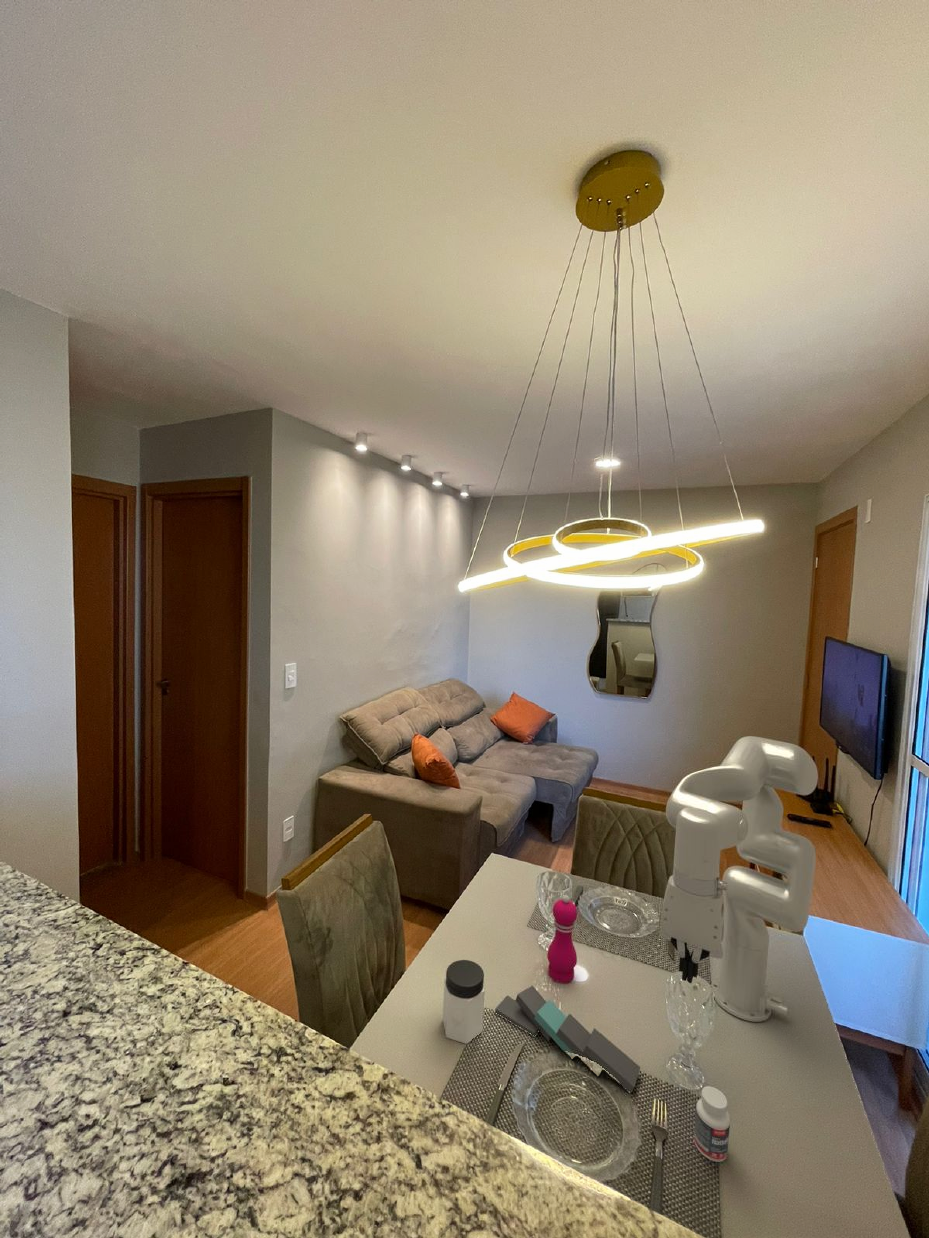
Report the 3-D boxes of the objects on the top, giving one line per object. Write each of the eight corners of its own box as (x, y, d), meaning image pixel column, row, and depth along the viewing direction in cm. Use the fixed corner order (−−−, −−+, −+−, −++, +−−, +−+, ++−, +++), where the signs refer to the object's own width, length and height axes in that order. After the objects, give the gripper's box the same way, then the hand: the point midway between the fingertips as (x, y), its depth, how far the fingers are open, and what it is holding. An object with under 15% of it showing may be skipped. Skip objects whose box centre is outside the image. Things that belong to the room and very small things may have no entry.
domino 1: (545, 1018, 113) (507, 995, 119) (534, 1032, 109) (495, 1008, 115) (545, 1026, 113) (506, 1002, 119) (534, 1041, 109) (494, 1016, 115)
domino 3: (587, 1039, 107) (549, 998, 113) (576, 1054, 103) (537, 1012, 109) (584, 1045, 108) (546, 1004, 114) (572, 1061, 104) (534, 1018, 110)
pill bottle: (712, 1168, 85) (716, 1116, 85) (686, 1137, 90) (690, 1088, 90) (734, 1155, 87) (738, 1105, 87) (708, 1126, 92) (712, 1078, 92)
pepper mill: (575, 987, 124) (581, 906, 123) (545, 981, 125) (550, 901, 125) (575, 966, 131) (580, 889, 130) (546, 961, 132) (551, 885, 132)
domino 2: (565, 1023, 111) (532, 985, 118) (550, 1034, 108) (517, 993, 115) (562, 1030, 111) (530, 991, 118) (548, 1041, 108) (515, 1000, 115)
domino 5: (640, 1066, 101) (594, 1027, 106) (634, 1086, 97) (586, 1045, 102) (636, 1073, 102) (590, 1034, 107) (630, 1093, 98) (583, 1051, 102)
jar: (435, 1035, 108) (438, 980, 108) (448, 1006, 116) (451, 954, 115) (476, 1048, 105) (480, 991, 105) (487, 1018, 113) (490, 965, 113)
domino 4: (611, 1053, 104) (569, 1013, 110) (602, 1071, 100) (559, 1028, 105) (608, 1060, 104) (566, 1019, 110) (598, 1077, 100) (555, 1034, 106)
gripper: (743, 884, 93) (735, 983, 94) (657, 858, 101) (650, 949, 102) (739, 904, 87) (731, 1009, 87) (647, 874, 95) (640, 971, 95)
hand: (687, 976), depth 95 cm, fingers closed
